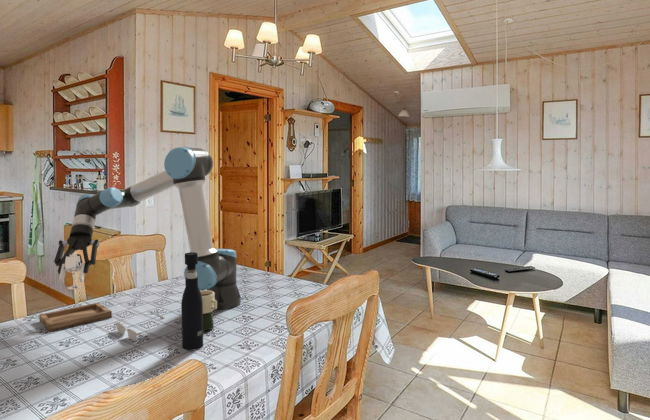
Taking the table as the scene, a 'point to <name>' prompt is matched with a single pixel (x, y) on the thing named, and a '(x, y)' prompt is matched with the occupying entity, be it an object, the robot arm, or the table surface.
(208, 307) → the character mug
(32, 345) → the table surface
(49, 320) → the walnut tray
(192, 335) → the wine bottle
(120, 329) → the eyeglasses
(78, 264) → the wineglass
